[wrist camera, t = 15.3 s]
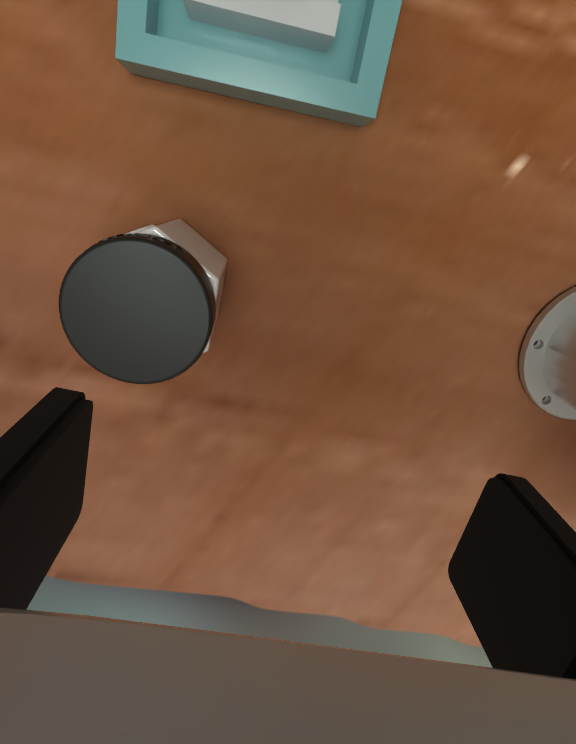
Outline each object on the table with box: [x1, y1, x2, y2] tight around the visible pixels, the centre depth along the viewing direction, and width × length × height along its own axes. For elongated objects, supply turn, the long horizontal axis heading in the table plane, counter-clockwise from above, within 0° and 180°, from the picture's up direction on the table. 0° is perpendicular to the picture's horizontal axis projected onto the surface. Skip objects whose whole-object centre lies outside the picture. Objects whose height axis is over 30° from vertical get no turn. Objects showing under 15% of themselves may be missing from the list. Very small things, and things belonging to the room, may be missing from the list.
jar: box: [59, 218, 227, 384], centre depth 30 cm, size 9×8×12 cm
